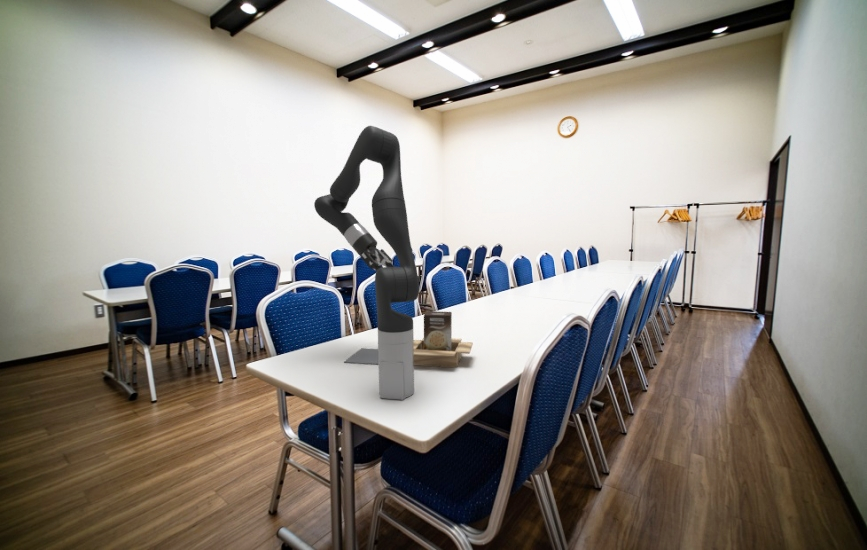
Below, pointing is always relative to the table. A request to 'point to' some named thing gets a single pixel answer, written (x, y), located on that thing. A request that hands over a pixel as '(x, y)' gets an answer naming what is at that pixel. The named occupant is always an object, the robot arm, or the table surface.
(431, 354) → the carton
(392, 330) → the robot arm
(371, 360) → the mat
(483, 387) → the table surface
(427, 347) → the coffee box
